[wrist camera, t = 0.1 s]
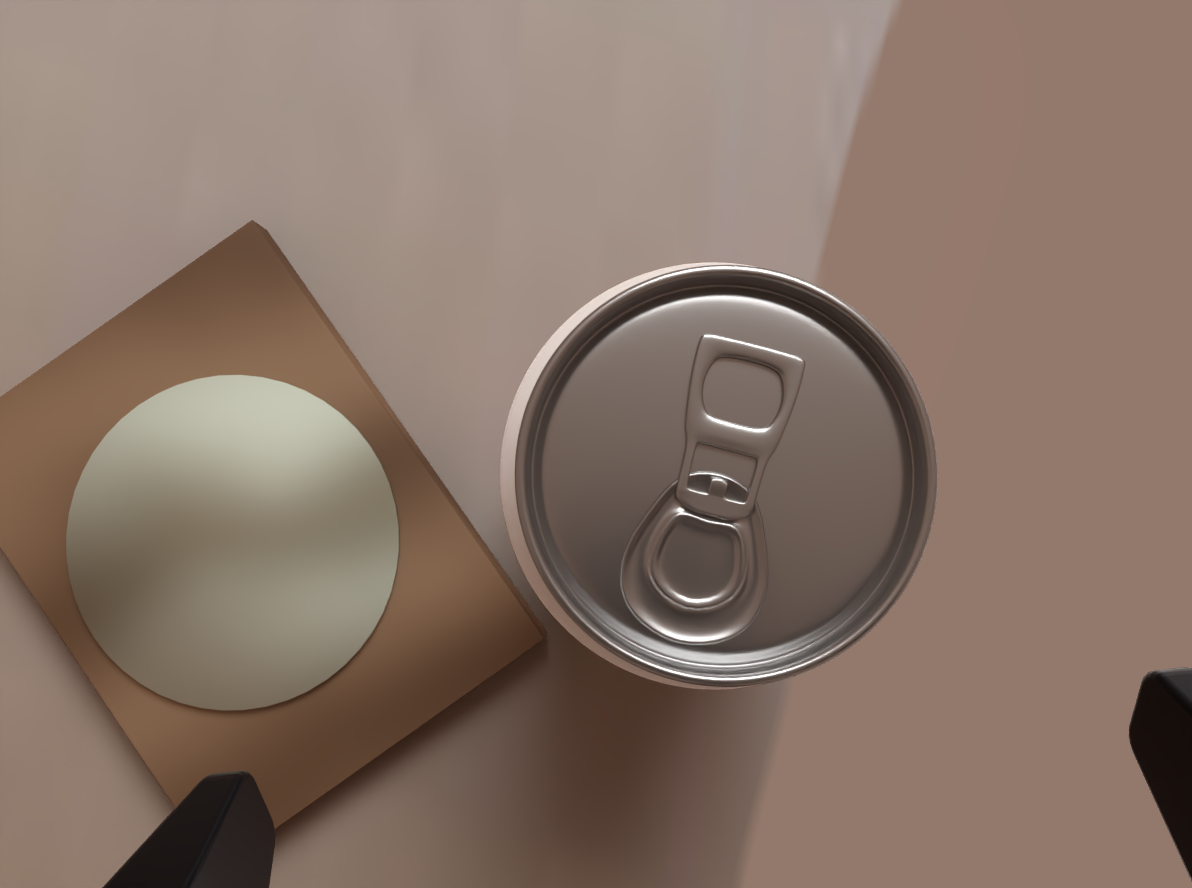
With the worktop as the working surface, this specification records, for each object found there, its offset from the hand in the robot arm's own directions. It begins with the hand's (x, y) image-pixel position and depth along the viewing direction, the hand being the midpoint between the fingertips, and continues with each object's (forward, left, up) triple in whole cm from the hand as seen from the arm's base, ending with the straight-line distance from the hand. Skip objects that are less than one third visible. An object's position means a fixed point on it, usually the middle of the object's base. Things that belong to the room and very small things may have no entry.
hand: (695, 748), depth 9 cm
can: (+2, -2, -15) cm, 15 cm away
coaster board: (+7, +8, -15) cm, 18 cm away
